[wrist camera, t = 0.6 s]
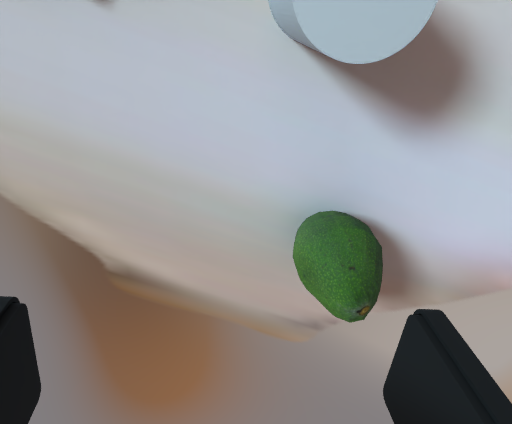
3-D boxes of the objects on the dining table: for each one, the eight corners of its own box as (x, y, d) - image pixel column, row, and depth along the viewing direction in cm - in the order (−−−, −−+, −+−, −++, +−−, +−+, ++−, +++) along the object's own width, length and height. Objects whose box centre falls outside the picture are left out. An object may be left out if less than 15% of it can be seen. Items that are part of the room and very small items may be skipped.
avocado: (301, 271, 44) (326, 356, 34) (276, 213, 41) (295, 287, 30) (370, 245, 43) (419, 324, 33) (351, 183, 40) (398, 249, 29)
